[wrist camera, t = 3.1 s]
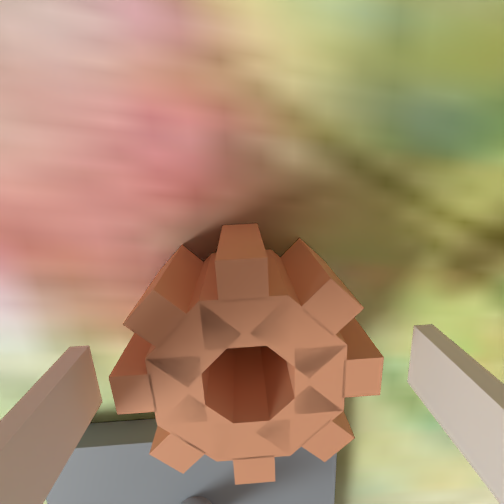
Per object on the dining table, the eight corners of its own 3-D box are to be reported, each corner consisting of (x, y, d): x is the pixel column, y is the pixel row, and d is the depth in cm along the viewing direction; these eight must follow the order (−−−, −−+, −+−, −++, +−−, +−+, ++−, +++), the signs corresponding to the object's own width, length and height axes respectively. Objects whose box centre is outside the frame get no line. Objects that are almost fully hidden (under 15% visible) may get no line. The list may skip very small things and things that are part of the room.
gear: (137, 230, 14) (83, 268, 9) (340, 218, 14) (394, 250, 9) (165, 396, 16) (135, 492, 12) (334, 383, 17) (372, 473, 12)
